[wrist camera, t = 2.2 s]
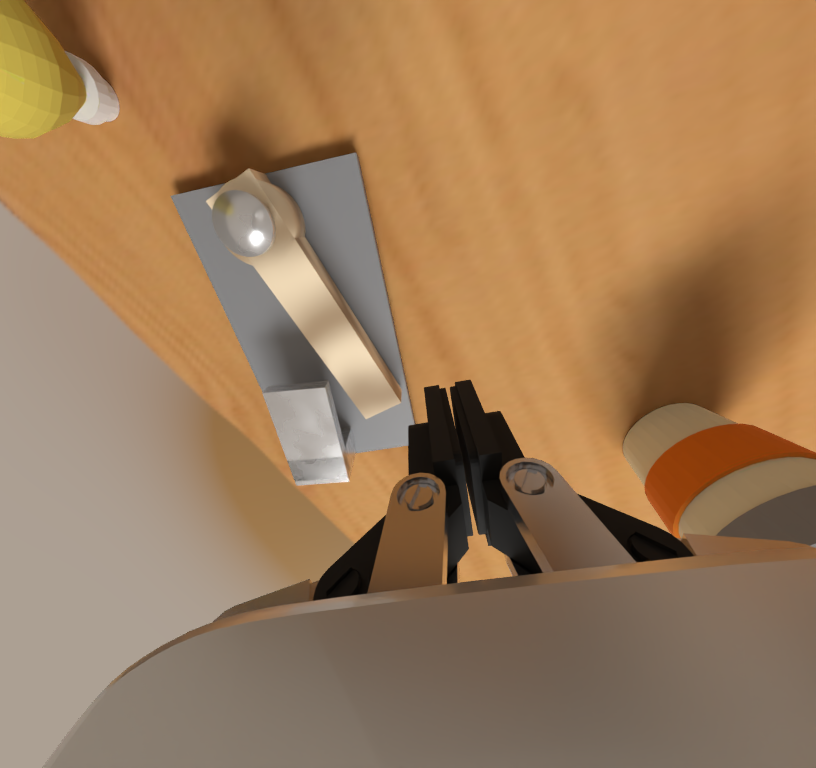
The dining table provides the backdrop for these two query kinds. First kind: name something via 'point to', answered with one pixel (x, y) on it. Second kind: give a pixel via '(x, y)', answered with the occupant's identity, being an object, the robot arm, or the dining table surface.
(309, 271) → the arm link
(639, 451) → the reusable coffee cup
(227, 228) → the pin cap
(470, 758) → the robot arm
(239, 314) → the base board
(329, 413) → the block
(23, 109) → the light bulb
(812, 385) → the dining table surface
